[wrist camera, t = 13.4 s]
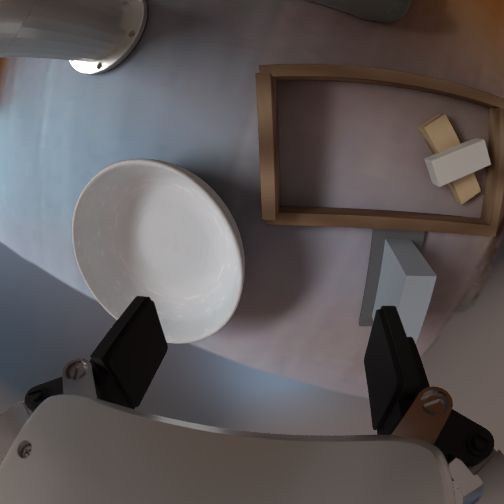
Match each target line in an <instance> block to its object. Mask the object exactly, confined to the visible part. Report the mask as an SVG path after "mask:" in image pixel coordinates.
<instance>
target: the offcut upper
mask: <svg viewBox="0 0 504 504" xmlns="http://www.w3.org/2000/svg"><path fill="white" fill-rule="evenodd" d="M424 160H425V163H426V166H427V169H428V172H429V175H430V178H431V181H432V183H433V184H435V185H436V186H438V187H441V186H443V185H445V184H448V183H450V182H452V181H455V180H457V179H459V178H461V177H464V176H466V175H468V174H471V173H473V172H475V171H477V170H480V169H482V168H484V167H487V166H489V165H491V163H490V159H489V155H488V151H487V147H486V144H485V140H484V139H478V138H474V139H472V140H469V141H467V142H464V143H461V144H459V145H456V146H454V147H451V148H449V149H446V150H444V151H441V152H439V153H436V154H434V155H432V156H429V157H427V158H424Z"/></svg>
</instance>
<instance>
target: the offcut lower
mask: <svg viewBox="0 0 504 504" xmlns="http://www.w3.org/2000/svg"><path fill="white" fill-rule="evenodd" d="M418 128H419V130H420V131H421V133H422V135H423V137H424V138H425V140H426V142H427V144H428V146H429V147H430V149H431V151H432V153H433V155H434V154H436V153H439V152H441V151H444V150H446V149H449V148H451V147H454V146H456V145H459V144H461V143H460V141H459V139H458V137H457V135H456V133H455V131H454V129H453V127H452V125H451V124H450V122H449V120H448V118H447V116H446V114H437V115H436V116H434V117H433V118H431V119H430V120H428V121H427V122H425V123H423V124H422V125H420V126H419V127H418ZM448 185H449V188H450V190H451V192H452V194H453V197H454V199H455V200H456V201H457V202H459V203H460V204H464V203H465V202H466V201H468V200H469V199H470V198H472V197H473V196H475V195H476V194H477V193H479V192H480V191H481V190H480V187H479V184H478V182H477V179H476V177H475V174H474V172H473V173H471V174H468V175H466V176H464V177H461V178H459V179H457V180H455V181H452V182H450V183H448Z"/></svg>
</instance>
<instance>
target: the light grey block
mask: <svg viewBox="0 0 504 504" xmlns="http://www.w3.org/2000/svg"><path fill="white" fill-rule="evenodd" d="M436 278H437V276H436V274H435V273H434V271H433V270H432V268H431V267H430V266H429V264H428V263H427V261H426V260H425V259H424V257H423V256H422V254H421V253H420V252H419V250H418V249H417V248H416V246H415V245H414V244H413V242H412V241H411V240H401V239H385V246H384V253H383V260H382V266H381V272H380V278H379V284H378V289H377V294H376V299H375V304H374V309H373V314H372V318H373V321H374V317H375V313H376V310H377V309H380V308H381V306H396V308H397V311H398V314H399V316H400V319H401V322H402V324H403V327H404V330H405V333H406V336H407V337H412V338H413V339H414V341H415V344H416V342H417V339H418V337H419V334H420V331H421V328H422V325H423V322H424V319H425V316H426V313H427V310H428V306H429V303H430V300H431V296H432V293H433V289H434V285H435V282H436Z"/></svg>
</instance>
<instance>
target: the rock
mask: <svg viewBox="0 0 504 504" xmlns="http://www.w3.org/2000/svg"><path fill="white" fill-rule="evenodd" d="M307 1H310V2H314V3H318V4H321V5H325V6H328V7H331V8H334V9H337V10H340V11H343V12H346V13H348V14H351V15H354V16H356V17H359V18H362V19H364V20H368V21H374V22H383V23H391V22H394V21H396V20H399V19H400V18H402V17H403V16H404V15H405V14H406V13H407V12H408V11H409V8H410V5H411V3H412V0H307Z"/></svg>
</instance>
